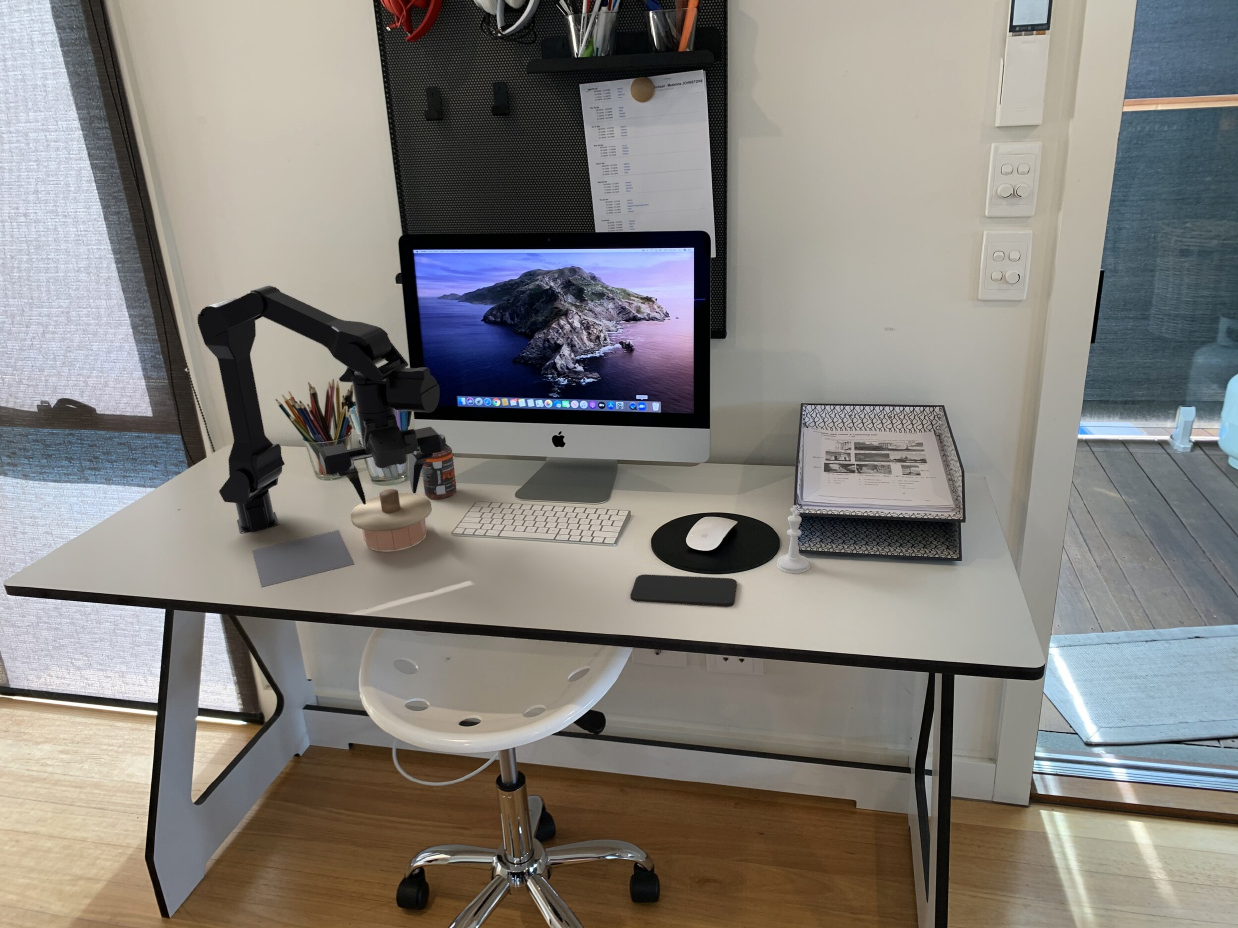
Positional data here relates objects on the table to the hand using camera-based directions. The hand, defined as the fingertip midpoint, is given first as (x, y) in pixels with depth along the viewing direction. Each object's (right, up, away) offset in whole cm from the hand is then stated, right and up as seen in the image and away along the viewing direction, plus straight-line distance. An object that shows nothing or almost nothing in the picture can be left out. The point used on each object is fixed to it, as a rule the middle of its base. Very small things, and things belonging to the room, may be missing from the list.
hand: (389, 498), depth 147 cm
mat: (-13, -10, -2) cm, 17 cm away
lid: (0, -3, +1) cm, 3 cm away
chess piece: (+64, -10, -11) cm, 66 cm away
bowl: (0, -7, +3) cm, 8 cm away
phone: (+47, -13, -16) cm, 52 cm away
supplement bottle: (+5, 0, +20) cm, 21 cm away
